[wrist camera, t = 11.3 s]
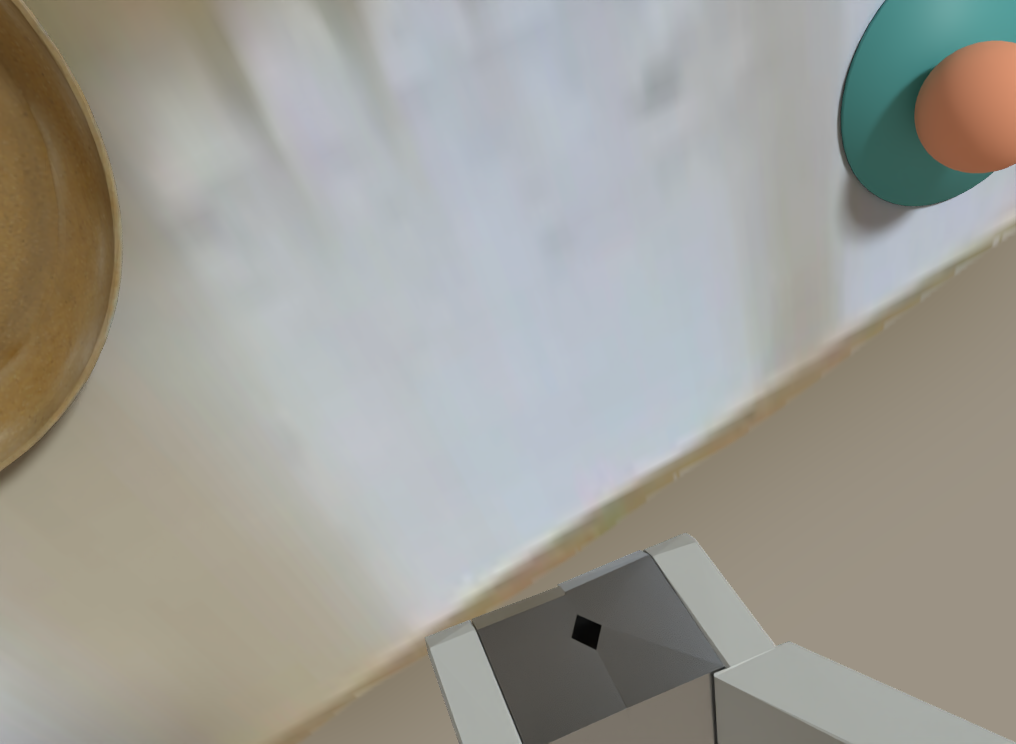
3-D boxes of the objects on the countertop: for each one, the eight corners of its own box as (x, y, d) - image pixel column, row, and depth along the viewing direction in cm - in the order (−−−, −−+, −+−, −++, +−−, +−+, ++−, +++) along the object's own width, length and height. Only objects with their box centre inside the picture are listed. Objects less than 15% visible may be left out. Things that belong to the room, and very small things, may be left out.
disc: (846, -28, 37) (850, -28, 36) (1089, -96, 39) (1093, -96, 38) (835, 235, 43) (838, 236, 43) (1042, 165, 45) (1045, 166, 45)
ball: (1025, 79, 34) (1102, 38, 36) (898, 49, 38) (975, 14, 40) (992, 208, 38) (1065, 164, 40) (879, 169, 41) (951, 131, 44)
